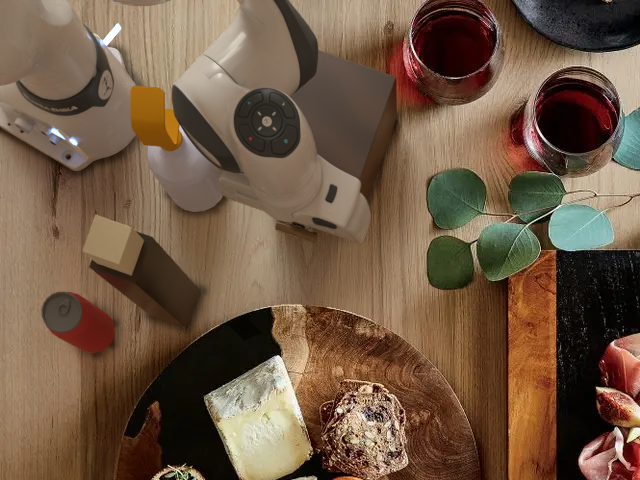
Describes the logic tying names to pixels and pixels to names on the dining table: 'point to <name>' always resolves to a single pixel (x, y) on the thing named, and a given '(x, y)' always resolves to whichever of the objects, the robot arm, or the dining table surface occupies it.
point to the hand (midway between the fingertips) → (301, 221)
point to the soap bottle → (172, 152)
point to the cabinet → (349, 115)
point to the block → (113, 245)
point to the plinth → (155, 284)
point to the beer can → (78, 321)
